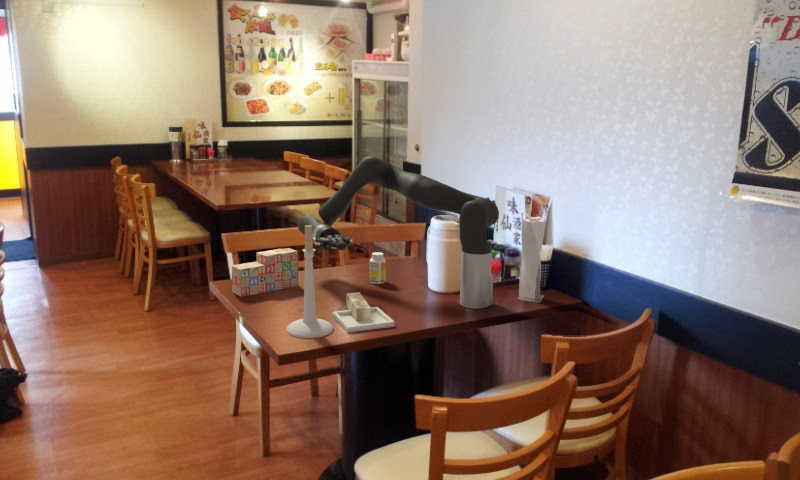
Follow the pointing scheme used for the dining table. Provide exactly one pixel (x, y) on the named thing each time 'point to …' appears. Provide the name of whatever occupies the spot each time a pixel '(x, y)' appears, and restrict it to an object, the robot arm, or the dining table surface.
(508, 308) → the dining table surface
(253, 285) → the stack of blocks
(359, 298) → the block
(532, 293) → the skyscraper
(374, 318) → the tray
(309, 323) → the candlestick
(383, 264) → the supplement bottle
